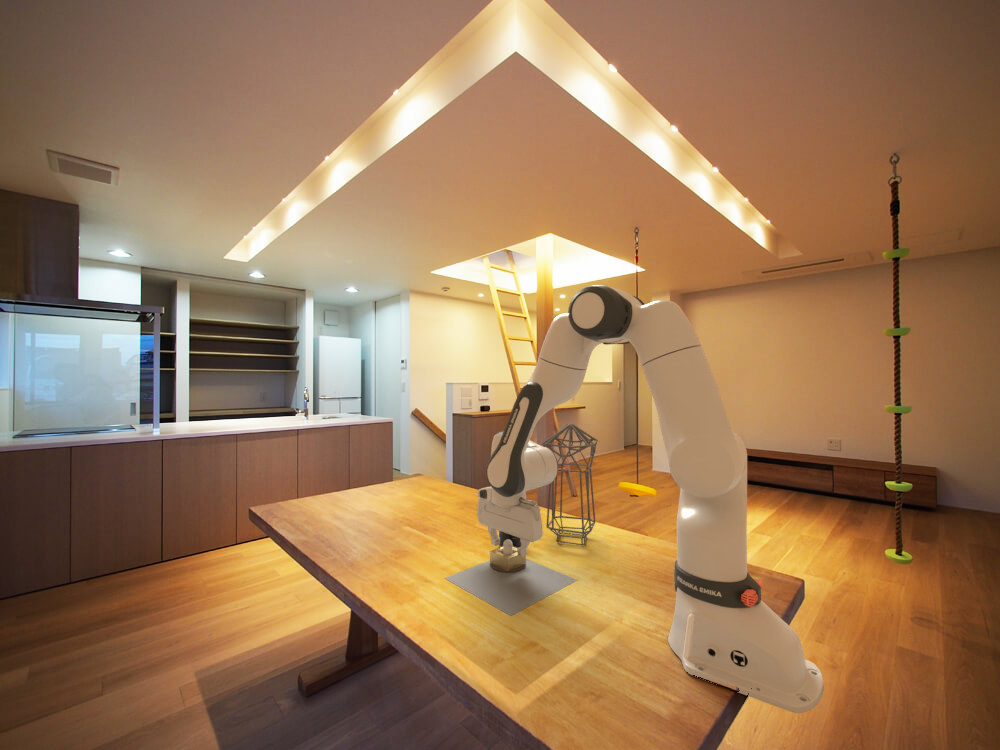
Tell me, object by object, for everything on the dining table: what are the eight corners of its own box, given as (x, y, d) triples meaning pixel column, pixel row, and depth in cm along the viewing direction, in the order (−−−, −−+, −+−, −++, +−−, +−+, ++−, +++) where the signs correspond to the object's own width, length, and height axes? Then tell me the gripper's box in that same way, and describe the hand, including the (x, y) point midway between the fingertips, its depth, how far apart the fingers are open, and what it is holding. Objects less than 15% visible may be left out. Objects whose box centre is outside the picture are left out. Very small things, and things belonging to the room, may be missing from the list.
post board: (577, 586, 96) (577, 552, 96) (510, 623, 80) (510, 583, 81) (510, 557, 111) (510, 529, 112) (444, 584, 96) (444, 551, 97)
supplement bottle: (520, 551, 116) (520, 508, 116) (496, 549, 117) (496, 507, 118) (523, 542, 123) (523, 501, 123) (501, 540, 124) (501, 500, 124)
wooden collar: (525, 563, 104) (525, 551, 104) (507, 571, 99) (507, 558, 99) (507, 556, 108) (507, 544, 108) (489, 563, 104) (489, 551, 104)
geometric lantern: (594, 552, 115) (594, 427, 116) (539, 545, 120) (539, 425, 121) (600, 533, 130) (599, 422, 131) (550, 528, 135) (550, 421, 136)
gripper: (548, 500, 99) (548, 558, 98) (490, 485, 114) (490, 536, 113) (530, 505, 95) (530, 566, 94) (473, 489, 109) (473, 542, 109)
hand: (508, 549), depth 104 cm, fingers open, 8 cm apart
